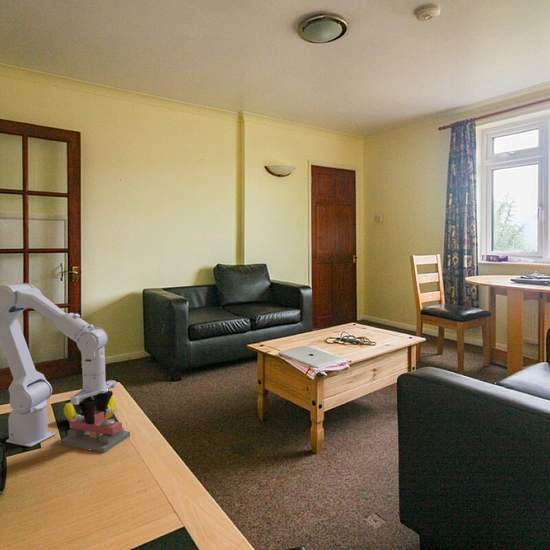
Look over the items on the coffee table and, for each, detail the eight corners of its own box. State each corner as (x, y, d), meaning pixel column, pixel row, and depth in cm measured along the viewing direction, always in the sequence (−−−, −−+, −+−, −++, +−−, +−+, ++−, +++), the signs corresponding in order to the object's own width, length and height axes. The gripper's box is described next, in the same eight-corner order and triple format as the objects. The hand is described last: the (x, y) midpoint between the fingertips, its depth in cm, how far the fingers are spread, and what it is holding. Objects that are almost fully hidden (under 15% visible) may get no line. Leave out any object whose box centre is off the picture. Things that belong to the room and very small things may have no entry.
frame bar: (69, 427, 108) (69, 412, 108) (79, 422, 111) (79, 407, 111) (112, 435, 103) (112, 418, 103) (121, 429, 106) (121, 413, 106)
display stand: (60, 444, 105) (60, 433, 105) (88, 428, 114) (88, 418, 114) (104, 452, 100) (104, 441, 100) (130, 435, 110) (129, 425, 110)
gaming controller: (63, 419, 121) (66, 431, 113) (62, 402, 121) (65, 413, 113) (113, 409, 130) (120, 419, 121) (113, 393, 130) (119, 402, 121)
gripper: (84, 382, 98) (86, 434, 99) (123, 366, 112) (125, 412, 113) (63, 379, 101) (65, 430, 101) (104, 364, 114) (105, 409, 115)
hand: (95, 420), depth 107 cm, fingers closed on frame bar, 3 cm apart
